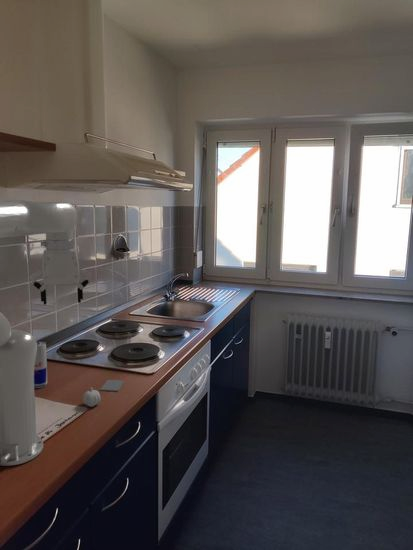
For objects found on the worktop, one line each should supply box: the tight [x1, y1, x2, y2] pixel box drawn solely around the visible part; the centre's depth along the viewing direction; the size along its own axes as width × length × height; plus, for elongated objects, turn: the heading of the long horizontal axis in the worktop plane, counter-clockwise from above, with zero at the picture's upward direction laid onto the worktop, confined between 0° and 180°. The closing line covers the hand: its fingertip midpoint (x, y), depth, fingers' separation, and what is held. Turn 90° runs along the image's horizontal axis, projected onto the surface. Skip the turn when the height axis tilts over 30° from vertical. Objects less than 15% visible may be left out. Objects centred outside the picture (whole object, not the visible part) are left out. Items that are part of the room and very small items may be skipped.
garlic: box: [82, 387, 101, 408], centre depth 133 cm, size 6×5×5 cm
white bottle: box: [34, 341, 48, 389], centre depth 145 cm, size 5×5×15 cm
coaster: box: [100, 379, 125, 392], centre depth 147 cm, size 8×6×1 cm
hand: (62, 302), depth 127 cm, fingers open, 9 cm apart
